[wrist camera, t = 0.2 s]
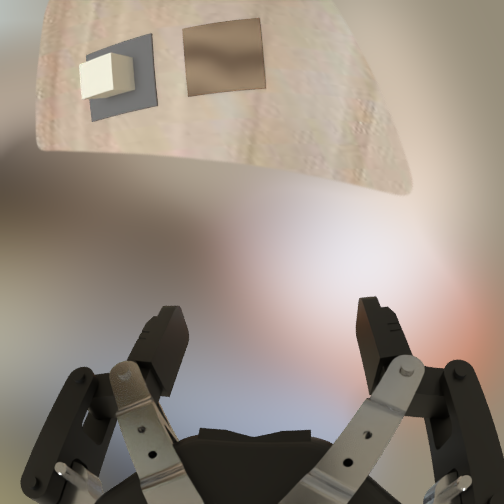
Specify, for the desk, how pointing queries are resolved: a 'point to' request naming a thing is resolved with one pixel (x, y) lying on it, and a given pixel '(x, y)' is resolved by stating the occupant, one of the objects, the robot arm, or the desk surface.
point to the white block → (106, 76)
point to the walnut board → (224, 57)
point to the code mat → (142, 76)
